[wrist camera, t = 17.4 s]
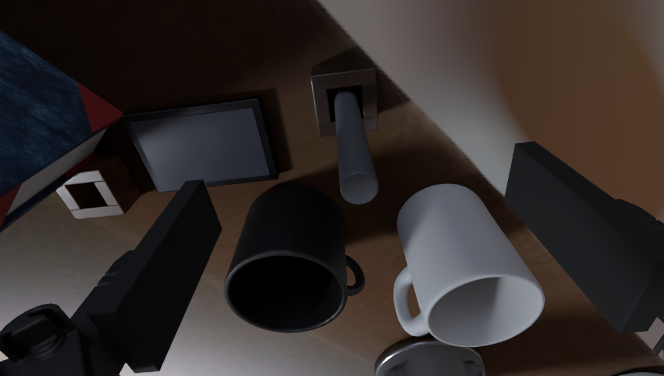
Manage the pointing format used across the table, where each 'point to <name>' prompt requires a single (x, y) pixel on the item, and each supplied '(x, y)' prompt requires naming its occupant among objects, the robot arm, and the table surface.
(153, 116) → the tablet
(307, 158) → the table surface
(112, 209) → the pen stand
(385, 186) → the table surface
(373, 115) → the holder
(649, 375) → the sculpture
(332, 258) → the mug
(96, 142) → the book
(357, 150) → the stylus
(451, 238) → the mug
